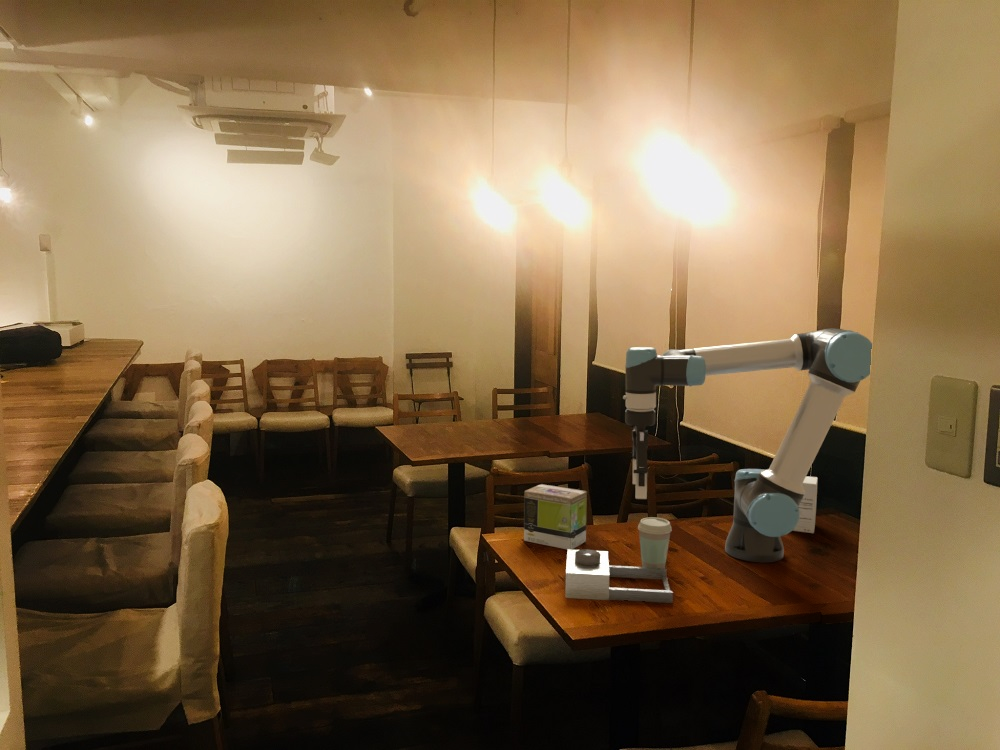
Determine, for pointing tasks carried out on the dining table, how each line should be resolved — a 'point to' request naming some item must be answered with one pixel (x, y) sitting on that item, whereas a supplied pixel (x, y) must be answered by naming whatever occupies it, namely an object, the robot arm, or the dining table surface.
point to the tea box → (555, 516)
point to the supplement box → (807, 506)
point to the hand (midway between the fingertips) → (639, 491)
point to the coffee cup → (654, 541)
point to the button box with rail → (592, 579)
